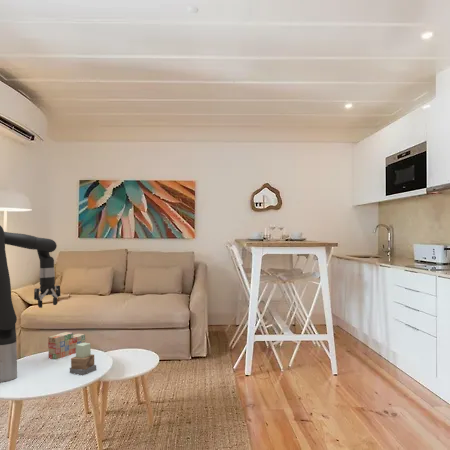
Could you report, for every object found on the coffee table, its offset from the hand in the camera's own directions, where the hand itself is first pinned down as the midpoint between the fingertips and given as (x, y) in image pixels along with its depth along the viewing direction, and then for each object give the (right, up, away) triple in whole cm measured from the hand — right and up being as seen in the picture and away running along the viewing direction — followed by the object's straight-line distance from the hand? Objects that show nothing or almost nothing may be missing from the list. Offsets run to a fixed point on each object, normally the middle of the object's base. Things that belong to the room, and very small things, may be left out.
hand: (47, 306), depth 224 cm
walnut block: (+25, -27, -16) cm, 40 cm away
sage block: (+24, -22, -15) cm, 36 cm away
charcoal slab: (+25, -30, -16) cm, 42 cm away
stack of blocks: (+5, -31, +16) cm, 36 cm away
